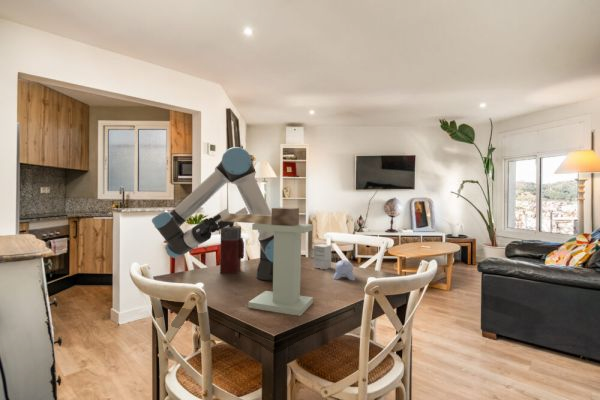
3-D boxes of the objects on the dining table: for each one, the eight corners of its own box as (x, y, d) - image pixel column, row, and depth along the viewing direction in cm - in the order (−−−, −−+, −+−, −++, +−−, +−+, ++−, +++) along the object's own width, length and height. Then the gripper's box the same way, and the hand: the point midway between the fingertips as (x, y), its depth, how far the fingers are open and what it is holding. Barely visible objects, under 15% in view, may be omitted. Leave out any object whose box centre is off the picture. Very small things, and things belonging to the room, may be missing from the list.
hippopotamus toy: (354, 274, 164) (355, 255, 163) (355, 282, 149) (355, 262, 149) (334, 272, 165) (334, 254, 165) (332, 280, 151) (333, 260, 150)
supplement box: (320, 265, 181) (320, 243, 181) (331, 267, 177) (331, 245, 176) (313, 267, 175) (313, 245, 175) (324, 270, 171) (325, 246, 170)
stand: (248, 307, 114) (249, 224, 113) (265, 295, 127) (266, 221, 126) (300, 316, 107) (302, 227, 106) (312, 302, 120) (314, 224, 119)
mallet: (219, 221, 121) (219, 206, 121) (229, 220, 128) (229, 205, 128) (291, 226, 111) (292, 209, 111) (298, 224, 118) (299, 208, 117)
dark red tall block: (242, 273, 159) (243, 218, 159) (220, 273, 159) (220, 218, 158) (244, 269, 168) (245, 217, 168) (223, 269, 168) (224, 216, 167)
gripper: (219, 239, 140) (256, 217, 134) (180, 248, 117) (223, 222, 110) (212, 224, 141) (249, 201, 135) (172, 230, 118) (214, 203, 111)
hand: (237, 211), depth 122 cm, fingers open, 13 cm apart
